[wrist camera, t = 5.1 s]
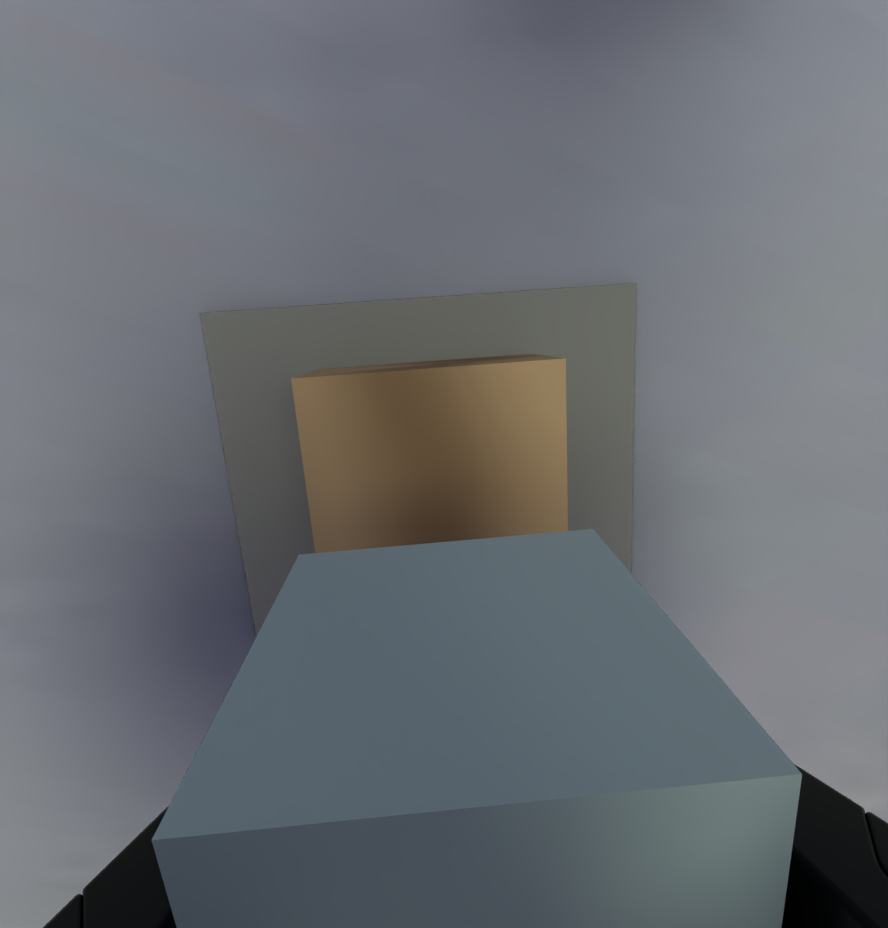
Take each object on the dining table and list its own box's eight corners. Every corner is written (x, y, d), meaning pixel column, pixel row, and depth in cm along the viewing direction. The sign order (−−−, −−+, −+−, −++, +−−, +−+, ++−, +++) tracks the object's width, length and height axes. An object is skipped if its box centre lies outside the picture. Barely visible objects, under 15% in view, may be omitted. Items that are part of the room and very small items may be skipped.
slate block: (593, 528, 9) (802, 773, 4) (592, 766, 10) (749, 1163, 5) (298, 554, 9) (151, 840, 4) (336, 791, 10) (261, 1222, 5)
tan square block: (531, 353, 17) (565, 358, 13) (537, 549, 19) (568, 604, 15) (319, 369, 17) (291, 378, 13) (344, 566, 19) (325, 627, 15)
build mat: (632, 283, 17) (636, 283, 17) (627, 611, 20) (630, 615, 20) (203, 313, 17) (199, 312, 16) (260, 644, 20) (258, 649, 19)
